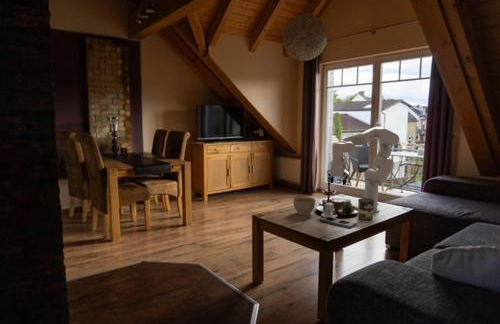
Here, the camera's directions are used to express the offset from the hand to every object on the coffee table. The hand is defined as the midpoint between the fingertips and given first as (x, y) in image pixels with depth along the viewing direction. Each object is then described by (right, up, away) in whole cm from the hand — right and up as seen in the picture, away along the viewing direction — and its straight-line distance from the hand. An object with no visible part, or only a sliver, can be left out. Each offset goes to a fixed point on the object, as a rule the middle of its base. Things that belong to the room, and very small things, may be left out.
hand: (338, 183), depth 258 cm
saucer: (-6, -23, +2) cm, 24 cm away
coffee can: (+17, -25, -7) cm, 31 cm away
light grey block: (-6, -22, +1) cm, 23 cm away
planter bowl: (-23, -23, +6) cm, 33 cm away
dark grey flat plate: (-3, -26, -14) cm, 30 cm away
